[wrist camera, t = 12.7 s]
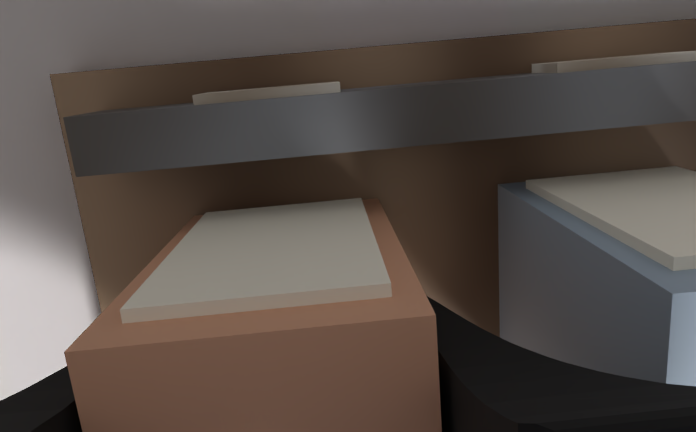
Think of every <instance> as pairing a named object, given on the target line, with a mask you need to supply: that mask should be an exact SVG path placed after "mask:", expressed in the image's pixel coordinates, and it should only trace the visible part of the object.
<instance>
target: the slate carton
mask: <svg viewBox="0 0 696 432" xmlns="http://www.w3.org/2000/svg"><path fill="white" fill-rule="evenodd" d="M498 244H499V317H500V338H502V339H504V340H506V341H508V342H511V343H513V344H515V345H518V346H520V347H523V348H525V349H528V350H531V351H533V352H536V353H539V354H541V355H544V356H547V357H550V358H553V359H556V360H559V361H562V362H566V363H569V364H573V365H577V366H581V367H584V368H588V369H592V370H596V371H600V372H605V373H609V374H614V375H619V376H624V377H630V378H636V379H642V380H648V381H654V382H660V383H667V384H675V385H686V386H696V172H695V171H692V170H688V169H684V168H680V167H676V166H672V167H661V168H650V169H639V170H628V171H618V172H607V173H596V174H585V175H575V176H564V177H553V178H542V179H532V180H526V182H516V183H506V184H498Z"/></svg>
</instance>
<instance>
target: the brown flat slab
mask: <svg viewBox="0 0 696 432" xmlns="http://www.w3.org/2000/svg"><path fill="white" fill-rule="evenodd" d="M50 78H51V83H52V87H53V92H54V97H55V101H56V106H57V110H58V115H59V120H60V124H61V129H62V133H63V138H64V143H65V147H66V152H67V156H68V161H69V166H70V170H71V175H72V179H73V184H74V189H75V193H76V198H77V202H78V207H79V212H80V216H81V221H82V226H83V230H84V235H85V239H86V244H87V249H88V253H89V258H90V262H91V267H92V272H93V276H94V281H95V285H96V290H97V295H98V299H99V304H100V308H101V313H102V312H103V311H104V310H105V309H106V308H107V307H108V306H109V305H110V304H111V303H112V302H113V300H114V299H115V298H116V297H117V296H118V295H119V294H120V293H121V292H122V291H123V290H124V289H125V288H126V287H127V286H128V285H129V284H130V283H131V282H132V281H133V280H134V278H135V277H136V276H137V275H138V274H139V273H140V272H141V271H142V270H143V269H144V268H145V267H146V266H147V265H148V264H149V263H150V262H151V261H152V260H153V259H154V257H155V256H156V255H157V254H158V253H159V252H160V251H161V250H162V249H163V248H164V247H165V246H166V245H167V244H168V243H169V242H170V241H171V240H172V239H173V238H174V236H175V235H176V234H177V233H178V232H179V231H180V230H181V229H182V228H183V227H184V226H185V225H186V224H187V223H188V222H189V221H190V220H191V219H192V218H193V217H194V216H195V215H204V214H205V213H206V212H215V211H226V210H237V209H247V208H258V207H269V206H279V205H290V204H301V203H311V202H322V201H332V200H343V199H354V198H361V199H362V200H365V199H375V198H378V199H379V201H380V203H381V205H382V208H383V210H384V212H385V214H386V216H387V218H388V220H389V222H390V224H391V226H392V228H393V230H394V232H395V234H396V236H397V238H398V240H399V242H400V244H401V246H402V248H403V250H404V252H405V254H406V256H407V258H408V260H409V262H410V264H411V266H412V268H413V270H414V272H415V274H416V276H417V278H418V280H419V282H420V284H421V286H422V288H423V290H424V292H425V294H426V296H428V297H430V298H431V299H433V300H435V301H436V302H438V303H440V304H441V305H443V306H445V307H446V308H448V309H449V310H451V311H453V312H454V313H456V314H458V315H459V316H461V317H463V318H464V319H466V320H468V321H469V322H471V323H473V324H475V325H477V326H478V327H480V328H482V329H484V330H486V331H488V332H490V333H492V334H494V335H496V336H498V337H500V317H499V244H498V184H506V183H516V182H526V180H532V179H542V178H553V177H564V176H575V175H585V174H596V173H607V172H618V171H628V170H639V169H650V168H661V167H672V166H676V167H680V168H684V169H688V170H692V171H695V172H696V19H686V20H674V21H663V22H651V23H639V24H628V25H616V26H605V27H593V28H582V29H570V30H558V31H547V32H535V33H524V34H512V35H500V36H489V37H477V38H466V39H454V40H442V41H431V42H419V43H408V44H396V45H384V46H373V47H361V48H350V49H338V50H326V51H315V52H303V53H292V54H280V55H268V56H257V57H245V58H234V59H222V60H210V61H199V62H187V63H176V64H164V65H153V66H141V67H129V68H118V69H106V70H95V71H83V72H71V73H60V74H50Z"/></svg>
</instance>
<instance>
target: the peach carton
mask: <svg viewBox="0 0 696 432" xmlns="http://www.w3.org/2000/svg"><path fill="white" fill-rule="evenodd" d="M64 354H65V358H66V363H67V367H68V371H69V376H70V380H71V384H72V389H73V393H74V397H75V402H76V406H77V410H78V415H79V419H80V423H81V428H82V432H442V424H441V404H440V384H439V365H438V345H437V325H436V314H435V312H434V310H433V308H432V306H431V304H430V302H429V300H428V298H427V296H426V294H425V292H424V290H423V288H422V286H421V284H420V282H419V280H418V278H417V276H416V274H415V272H414V270H413V268H412V266H411V264H410V262H409V260H408V258H407V256H406V254H405V252H404V250H403V248H402V246H401V244H400V242H399V240H398V238H397V236H396V234H395V232H394V230H393V228H392V226H391V224H390V222H389V220H388V218H387V216H386V214H385V212H384V210H383V208H382V205H381V203H380V201H379V199H378V198H375V199H365V200H362V199H361V198H354V199H343V200H332V201H322V202H311V203H301V204H290V205H279V206H269V207H258V208H247V209H237V210H226V211H215V212H206V213H205V214H204V215H195V216H194V217H193V218H192V219H191V220H190V221H189V222H188V223H187V224H186V225H185V226H184V227H183V228H182V229H181V230H180V231H179V232H178V233H177V234H176V235H175V236H174V238H173V239H172V240H171V241H170V242H169V243H168V244H167V245H166V246H165V247H164V248H163V249H162V250H161V251H160V252H159V253H158V254H157V255H156V256H155V257H154V259H153V260H152V261H151V262H150V263H149V264H148V265H147V266H146V267H145V268H144V269H143V270H142V271H141V272H140V273H139V274H138V275H137V276H136V277H135V278H134V280H133V281H132V282H131V283H130V284H129V285H128V286H127V287H126V288H125V289H124V290H123V291H122V292H121V293H120V294H119V295H118V296H117V297H116V298H115V299H114V300H113V302H112V303H111V304H110V305H109V306H108V307H107V308H106V309H105V310H104V311H103V312H102V313H101V314H100V315H99V316H98V317H97V318H96V319H95V320H94V321H93V323H92V324H91V325H90V326H89V327H88V328H87V329H86V330H85V331H84V332H83V333H82V334H81V335H80V336H79V337H78V338H77V339H76V340H75V341H74V342H73V344H72V345H71V346H70V347H69V348H68V349H67V350H66V351H65V352H64Z"/></svg>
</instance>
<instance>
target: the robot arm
mask: <svg viewBox="0 0 696 432" xmlns="http://www.w3.org/2000/svg"><path fill="white" fill-rule="evenodd" d="M427 298H428V300H429V302H430V304H431V306H432V308H433V310H434V312H435V314H436V325H437V345H438V365H439V384H440V404H441V424H442V432H696V386H686V385H675V384H667V383H660V382H654V381H648V380H642V379H636V378H630V377H624V376H619V375H614V374H609V373H605V372H600V371H596V370H592V369H588V368H584V367H581V366H577V365H573V364H569V363H566V362H562V361H559V360H556V359H553V358H550V357H547V356H544V355H541V354H539V353H536V352H533V351H531V350H528V349H525V348H523V347H520V346H518V345H515V344H513V343H511V342H508V341H506V340H504V339H502V338H500V337H498V336H496V335H494V334H492V333H490V332H488V331H486V330H484V329H482V328H480V327H478V326H477V325H475V324H473V323H471V322H469V321H468V320H466V319H464V318H463V317H461V316H459V315H458V314H456V313H454V312H453V311H451V310H449V309H448V308H446V307H445V306H443V305H441V304H440V303H438V302H436V301H435V300H433V299H431V298H430V297H428V296H427ZM0 432H82V428H81V423H80V419H79V415H78V410H77V406H76V402H75V397H74V393H73V389H72V384H71V380H70V376H69V371H68V367H67V366H66V367H65V368H63V369H61V370H59V371H57V372H55V373H54V374H52V375H50V376H48V377H46V378H44V379H43V380H41V381H39V382H37V383H35V384H34V385H32V386H30V387H28V388H26V389H24V390H22V391H20V392H18V393H16V394H14V395H12V396H10V397H8V398H6V399H4V400H1V401H0Z"/></svg>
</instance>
